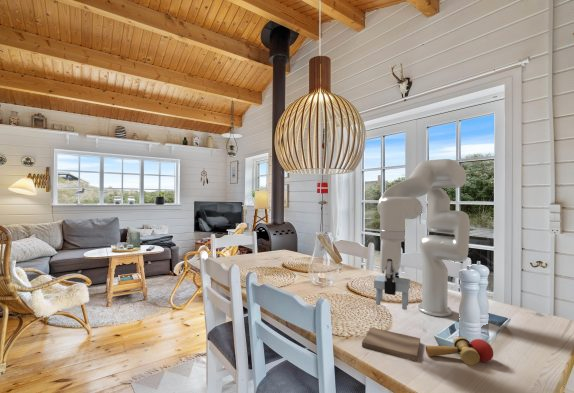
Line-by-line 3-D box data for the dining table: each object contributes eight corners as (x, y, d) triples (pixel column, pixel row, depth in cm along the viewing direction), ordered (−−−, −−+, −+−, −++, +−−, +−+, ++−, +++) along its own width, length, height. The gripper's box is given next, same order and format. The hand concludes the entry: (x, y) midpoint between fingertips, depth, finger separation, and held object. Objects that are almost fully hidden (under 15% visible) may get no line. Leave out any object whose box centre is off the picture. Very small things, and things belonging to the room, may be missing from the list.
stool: (409, 303, 94) (409, 279, 94) (407, 311, 88) (407, 284, 88) (378, 298, 99) (378, 274, 99) (373, 305, 93) (373, 280, 93)
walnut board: (370, 331, 103) (370, 327, 103) (420, 342, 95) (420, 338, 95) (361, 346, 92) (361, 342, 92) (416, 360, 85) (416, 355, 85)
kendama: (433, 369, 83) (501, 366, 81) (429, 345, 84) (496, 341, 82) (425, 359, 91) (487, 356, 88) (421, 337, 92) (482, 333, 89)
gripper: (385, 231, 103) (384, 281, 103) (374, 238, 88) (374, 296, 88) (407, 233, 100) (407, 285, 100) (401, 240, 84) (400, 301, 84)
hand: (392, 290), depth 94 cm, fingers closed on stool, 7 cm apart
